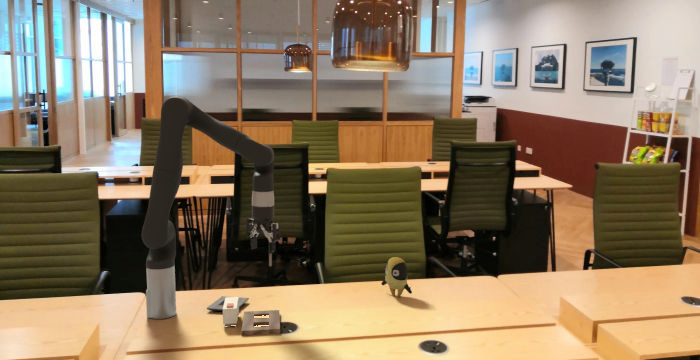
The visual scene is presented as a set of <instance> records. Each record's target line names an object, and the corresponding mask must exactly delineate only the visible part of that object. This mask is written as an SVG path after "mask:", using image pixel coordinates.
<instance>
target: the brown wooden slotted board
mask: <svg viewBox="0 0 700 360" xmlns="http://www.w3.org/2000/svg"><path fill="white" fill-rule="evenodd" d="M262 315H264V316H266V315H269V318H254V316H262ZM280 315H281V314H280V309H275V310H274V309H273V310H272V309H271V310H269V309H268V310H253V311H252V310H251V311H243V317H242V325H241V336H257V335H258V336H260V335H279V334H281V321H280V319H281V318H280ZM256 325H257V326H258V325H269V326H261V327H254V326H256Z"/></svg>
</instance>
